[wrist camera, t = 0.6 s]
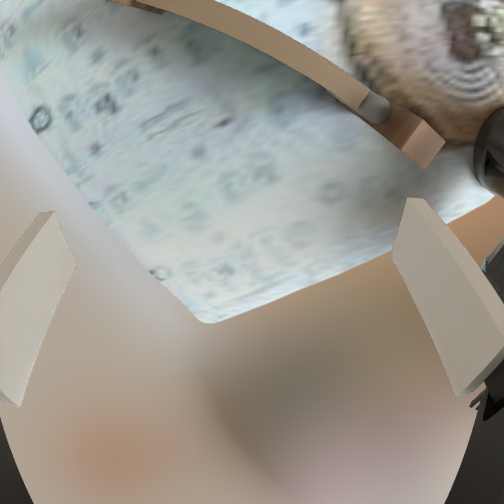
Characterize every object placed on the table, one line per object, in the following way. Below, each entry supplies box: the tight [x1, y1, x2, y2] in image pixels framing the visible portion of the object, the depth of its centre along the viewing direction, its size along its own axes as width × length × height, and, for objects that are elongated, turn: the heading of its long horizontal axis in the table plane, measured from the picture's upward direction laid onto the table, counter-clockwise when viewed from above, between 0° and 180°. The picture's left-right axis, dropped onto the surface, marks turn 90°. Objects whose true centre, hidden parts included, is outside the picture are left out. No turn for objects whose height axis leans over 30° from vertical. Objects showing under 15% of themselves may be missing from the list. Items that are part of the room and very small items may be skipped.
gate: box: [137, 0, 390, 124], centre depth 23 cm, size 21×2×12 cm, turn 61°
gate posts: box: [106, 0, 445, 170], centre depth 22 cm, size 28×3×16 cm, turn 61°
